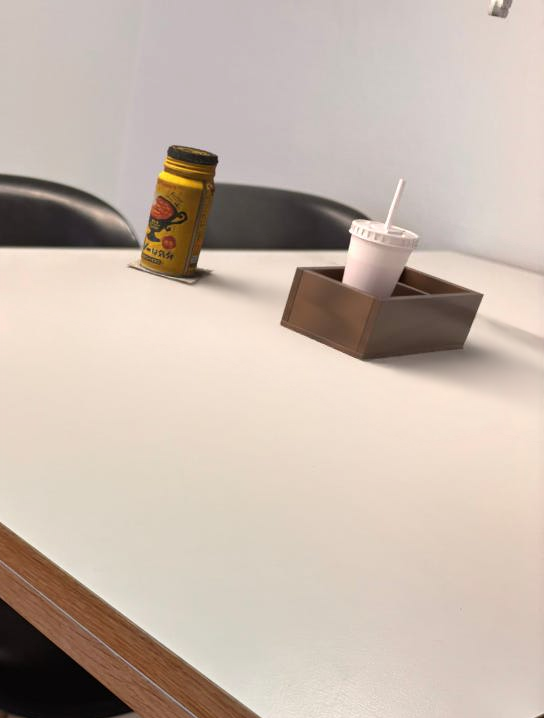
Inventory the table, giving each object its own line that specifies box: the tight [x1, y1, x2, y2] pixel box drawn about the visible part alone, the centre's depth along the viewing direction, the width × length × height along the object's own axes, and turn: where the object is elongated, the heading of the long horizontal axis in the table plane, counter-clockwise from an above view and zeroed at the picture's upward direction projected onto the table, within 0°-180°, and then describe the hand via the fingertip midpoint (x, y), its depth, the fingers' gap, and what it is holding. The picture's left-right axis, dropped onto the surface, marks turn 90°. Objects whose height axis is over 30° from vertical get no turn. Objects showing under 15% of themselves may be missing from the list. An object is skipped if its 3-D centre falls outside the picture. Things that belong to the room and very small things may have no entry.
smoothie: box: [342, 178, 421, 298], centre depth 100 cm, size 6×6×14 cm
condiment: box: [126, 144, 219, 284], centre depth 111 cm, size 7×8×12 cm
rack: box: [279, 265, 485, 361], centre depth 105 cm, size 10×19×6 cm, turn 132°
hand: (536, 24), depth 112 cm, fingers open, 8 cm apart
